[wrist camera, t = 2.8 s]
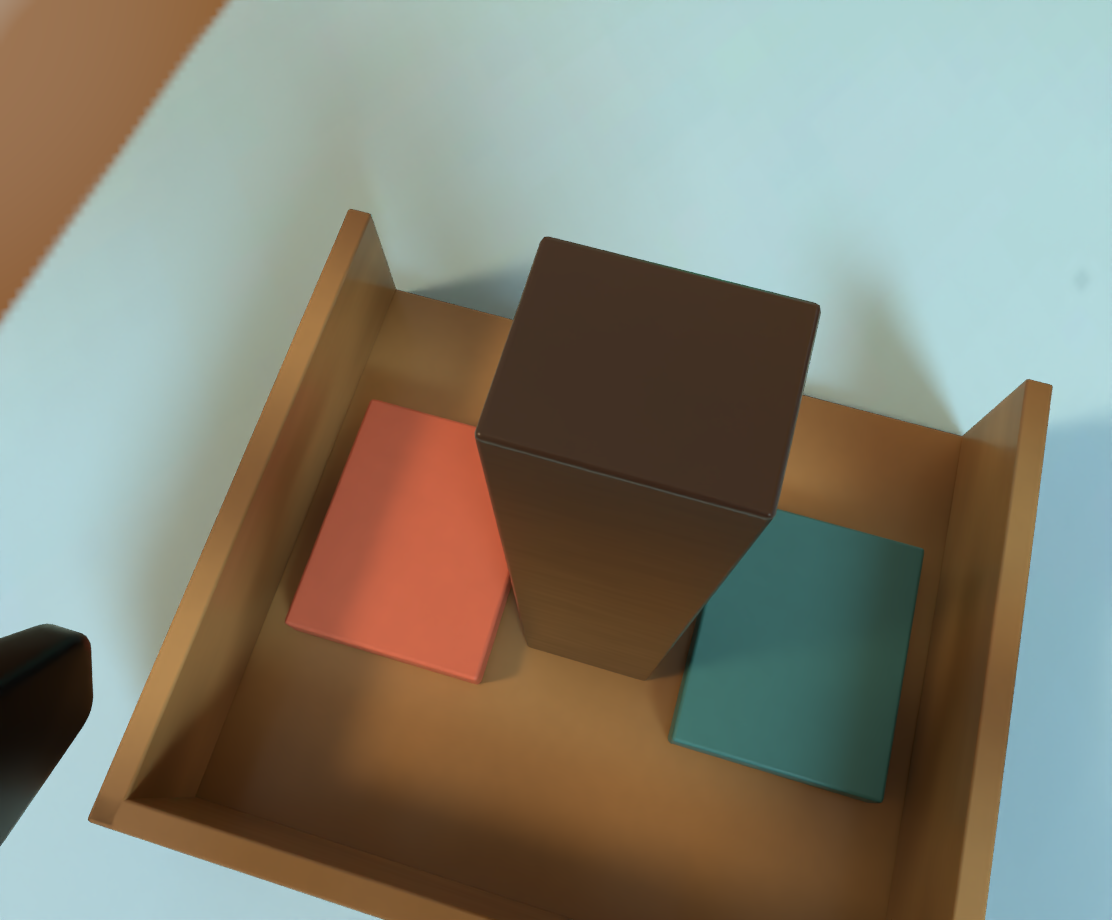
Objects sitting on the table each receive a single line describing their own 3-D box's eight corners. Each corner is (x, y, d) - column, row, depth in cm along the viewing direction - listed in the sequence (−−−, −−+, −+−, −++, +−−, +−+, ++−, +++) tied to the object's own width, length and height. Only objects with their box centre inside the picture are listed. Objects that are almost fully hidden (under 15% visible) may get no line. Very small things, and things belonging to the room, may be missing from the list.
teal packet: (870, 804, 18) (884, 804, 17) (665, 742, 18) (670, 740, 17) (912, 557, 19) (926, 548, 19) (723, 505, 20) (729, 494, 19)
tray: (882, 1047, 17) (1618, 1646, 5) (173, 814, 18) (-534, 866, 6) (973, 450, 21) (1517, 4, 9) (381, 296, 22) (173, -267, 10)
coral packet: (480, 686, 18) (476, 681, 18) (293, 629, 19) (282, 623, 18) (551, 458, 20) (551, 445, 19) (377, 410, 20) (370, 396, 20)
